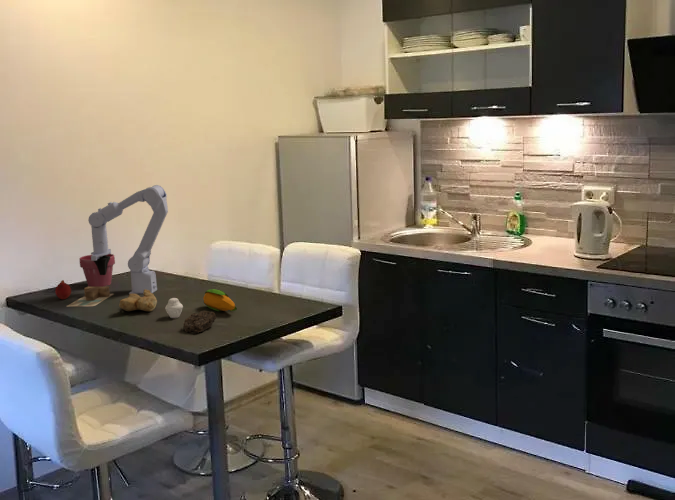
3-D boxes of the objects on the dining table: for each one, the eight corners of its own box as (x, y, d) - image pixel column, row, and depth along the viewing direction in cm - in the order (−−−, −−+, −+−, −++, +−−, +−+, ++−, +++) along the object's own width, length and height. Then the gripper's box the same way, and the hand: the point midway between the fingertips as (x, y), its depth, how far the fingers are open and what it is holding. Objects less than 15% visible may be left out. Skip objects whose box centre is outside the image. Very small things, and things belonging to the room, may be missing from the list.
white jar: (174, 320, 255) (173, 300, 254) (162, 318, 258) (160, 298, 257) (187, 315, 260) (185, 296, 259) (174, 313, 263) (173, 294, 262)
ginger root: (147, 314, 259) (141, 292, 259) (111, 321, 265) (106, 300, 265) (172, 304, 274) (166, 283, 273) (138, 311, 280) (132, 291, 279)
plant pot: (91, 281, 319) (89, 253, 317) (122, 281, 317) (119, 252, 315) (76, 289, 305) (73, 259, 303) (107, 289, 303) (105, 259, 301)
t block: (109, 295, 292) (109, 286, 291) (100, 300, 283) (100, 291, 283) (88, 295, 293) (87, 286, 292) (78, 300, 284) (77, 291, 284)
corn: (214, 283, 274) (242, 292, 258) (217, 303, 276) (245, 313, 260) (197, 288, 270) (224, 298, 254) (199, 308, 271) (227, 319, 256)
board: (114, 295, 294) (114, 293, 294) (94, 307, 275) (93, 306, 275) (88, 295, 295) (88, 293, 295) (66, 307, 276) (66, 306, 276)
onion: (66, 302, 285) (64, 282, 283) (53, 302, 286) (51, 282, 285) (74, 298, 291) (72, 278, 289) (61, 298, 292) (59, 278, 290)
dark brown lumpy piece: (199, 322, 252) (198, 308, 251) (221, 326, 246) (220, 311, 245) (175, 331, 242) (174, 316, 241) (197, 335, 237) (196, 320, 236)
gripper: (98, 238, 301) (101, 270, 304) (82, 244, 287) (85, 278, 290) (114, 238, 301) (117, 270, 303) (99, 244, 286) (102, 278, 289)
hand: (103, 274), depth 296 cm, fingers closed
